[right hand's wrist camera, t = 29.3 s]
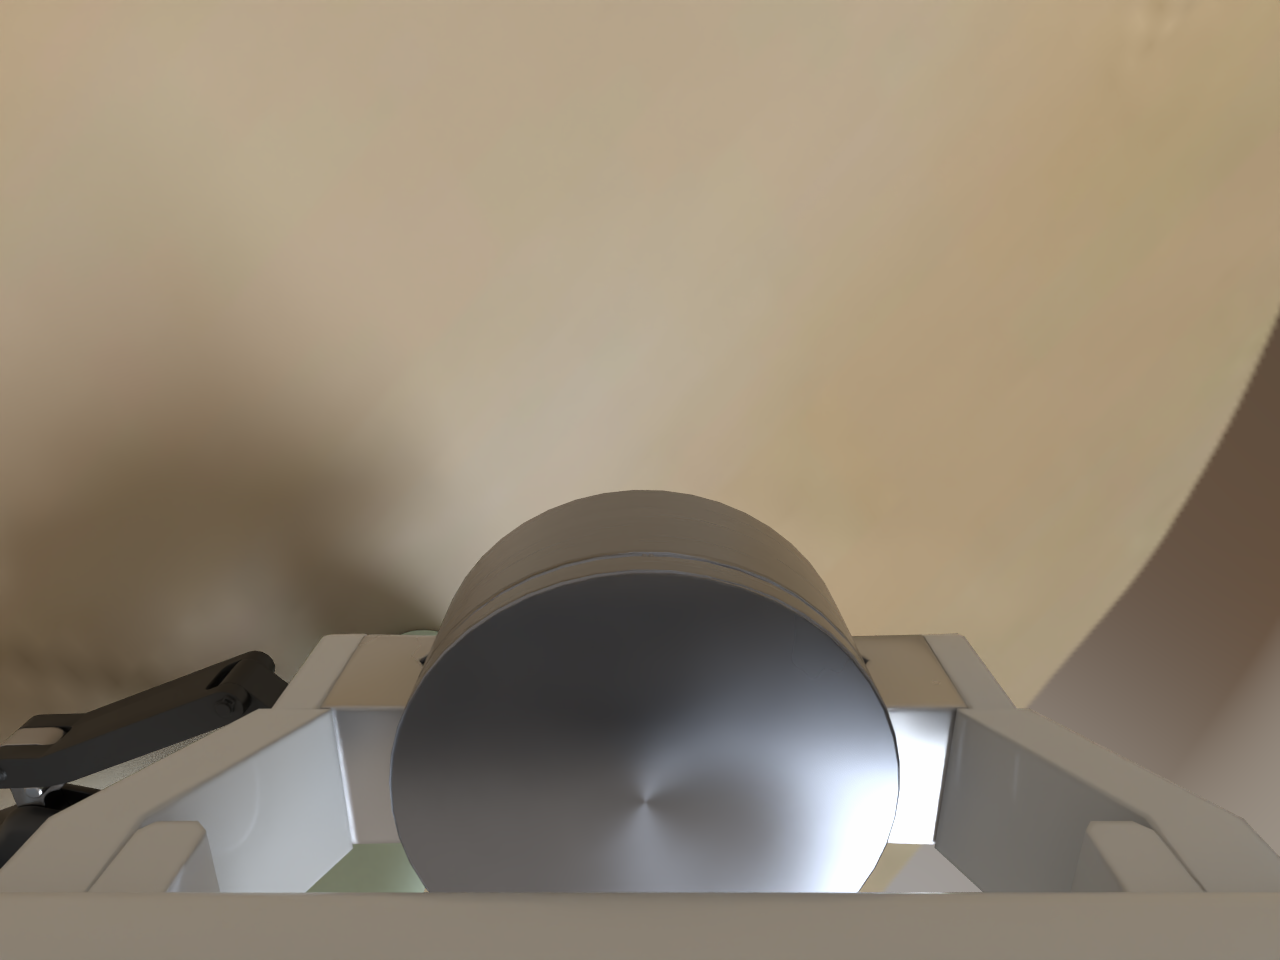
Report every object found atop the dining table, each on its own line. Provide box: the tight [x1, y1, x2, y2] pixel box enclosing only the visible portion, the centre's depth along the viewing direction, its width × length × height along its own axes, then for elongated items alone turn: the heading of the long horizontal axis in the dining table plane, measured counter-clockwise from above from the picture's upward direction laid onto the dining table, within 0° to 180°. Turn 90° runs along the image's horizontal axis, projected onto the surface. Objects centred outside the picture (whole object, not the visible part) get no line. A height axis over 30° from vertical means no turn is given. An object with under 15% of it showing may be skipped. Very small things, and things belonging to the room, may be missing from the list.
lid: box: [389, 490, 900, 892], centre depth 9 cm, size 5×5×2 cm
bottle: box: [306, 630, 438, 892], centre depth 27 cm, size 5×5×16 cm
